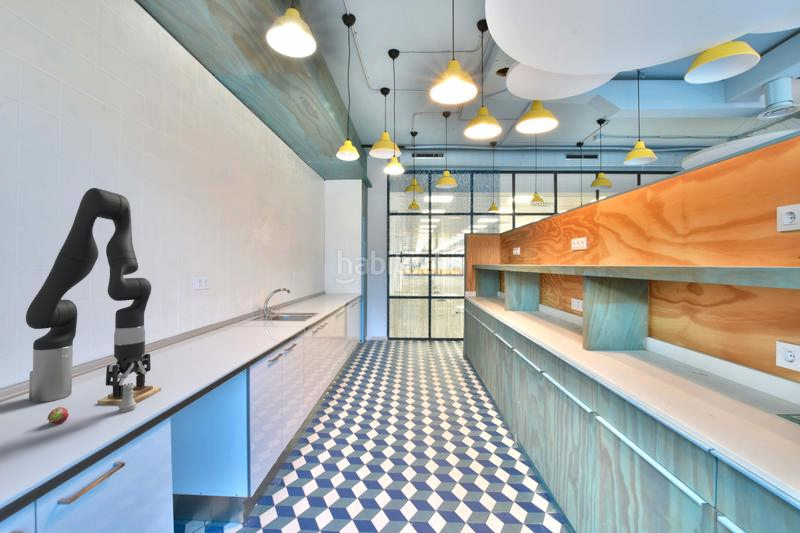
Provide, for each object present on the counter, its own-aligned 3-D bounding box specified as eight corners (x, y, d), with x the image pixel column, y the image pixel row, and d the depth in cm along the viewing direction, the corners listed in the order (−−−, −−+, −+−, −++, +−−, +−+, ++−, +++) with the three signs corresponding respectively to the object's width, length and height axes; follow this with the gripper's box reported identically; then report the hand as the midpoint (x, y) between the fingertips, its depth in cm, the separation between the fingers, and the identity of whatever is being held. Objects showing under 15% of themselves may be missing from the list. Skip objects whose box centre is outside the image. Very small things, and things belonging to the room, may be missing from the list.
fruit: (73, 416, 96) (73, 400, 96) (64, 425, 91) (64, 408, 91) (54, 419, 94) (54, 402, 94) (43, 429, 89) (43, 411, 89)
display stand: (97, 404, 105) (97, 396, 105) (128, 390, 117) (128, 383, 117) (134, 404, 105) (134, 397, 105) (161, 390, 117) (161, 384, 117)
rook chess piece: (121, 407, 103) (122, 382, 103) (138, 405, 104) (139, 381, 104) (115, 413, 98) (116, 387, 98) (133, 411, 100) (134, 386, 100)
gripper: (136, 336, 108) (135, 383, 108) (97, 346, 94) (96, 401, 94) (158, 336, 108) (158, 383, 108) (122, 346, 94) (122, 401, 94)
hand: (129, 391), depth 101 cm, fingers open, 8 cm apart
